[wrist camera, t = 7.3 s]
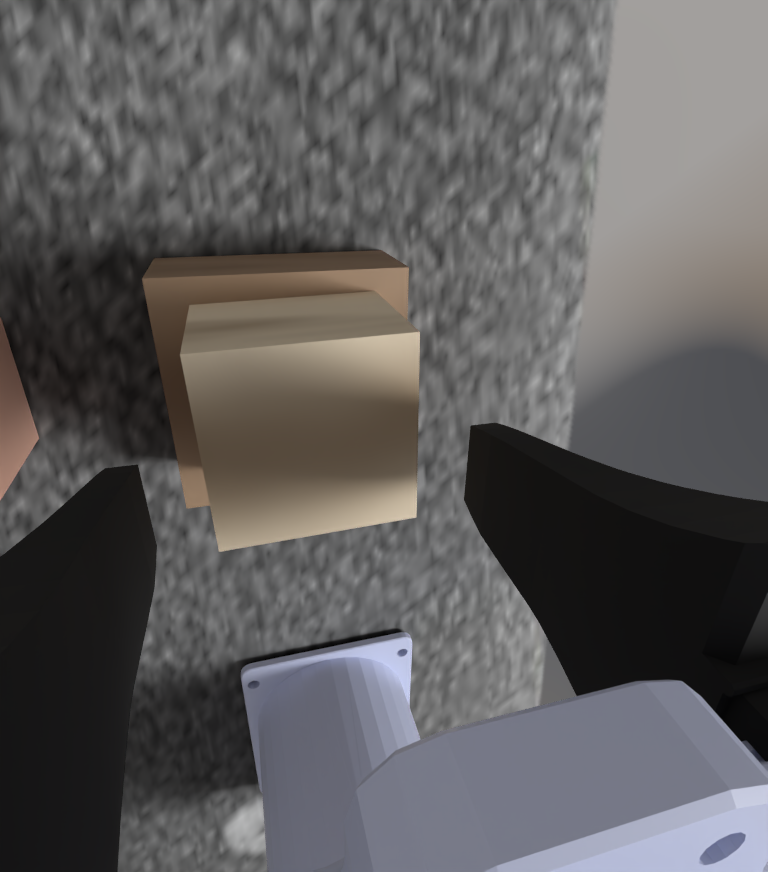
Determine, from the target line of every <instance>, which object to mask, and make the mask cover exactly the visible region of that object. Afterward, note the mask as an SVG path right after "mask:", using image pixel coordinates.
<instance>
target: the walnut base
mask: <svg viewBox="0 0 768 872" xmlns="http://www.w3.org/2000/svg"><path fill="white" fill-rule="evenodd" d="M408 277H409V267H408V266H406V265H404V264H403V263H401V262H400V261H398V260H396V259H395V258H393V257H391V256H390V255H388V254H387V253H385V252H383V251H382V250H375V251H346V252H317V253H288V254H259V255H230V256H201V257H173V258H154V259H153V261H152V263H151V264H150V266H149V268H148V269H147V271H146V273H145V274H144V276H143V278H142V282H143V287H144V292H145V297H146V302H147V307H148V312H149V317H150V323H151V328H152V333H153V338H154V343H155V348H156V353H157V358H158V364H159V369H160V374H161V379H162V384H163V389H164V394H165V399H166V404H167V410H168V415H169V420H170V425H171V430H172V435H173V440H174V445H175V451H176V456H177V461H178V466H179V471H180V476H181V481H182V486H183V492H184V497H185V502H186V507H187V508H194V507H202V506H209V505H210V503H209V498H208V493H207V488H206V483H205V478H204V473H203V468H202V463H201V458H200V453H199V448H198V443H197V438H196V433H195V428H194V423H193V418H192V413H191V408H190V402H189V397H188V392H187V387H186V382H185V377H184V372H183V367H182V362H181V357H180V352H181V346H182V341H183V336H184V331H185V326H186V320H187V315H188V310H189V305H197V304H210V303H223V302H236V301H249V300H263V299H276V298H289V297H302V296H315V295H329V294H342V293H355V292H368V291H376V292H377V293H378V294H379V295H380V296H381V297H382V298H383V299H384V300H385V301H387V302H388V303H389V304H390V305H391V306H392V307H393V308H394V309H395V310H396V311H398V312H399V313H400V314H401V315H402V316H403V317H404V318H405V319H406V320H407V312H408Z"/></svg>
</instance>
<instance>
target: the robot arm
mask: <svg viewBox="0 0 768 872" xmlns="http://www.w3.org/2000/svg"><path fill="white" fill-rule="evenodd" d="M464 501H465V503H466V505H467V507H468V509H469V512H470V514H471V516H472V518H473V520H474V522H475V524H476V526H477V528H478V530H479V532H480V534H481V536H482V537H483V539H484V540H485V542H486V543H487V545H488V546H489V548H490V549H491V551H492V552H493V554H494V555H495V557H496V558H497V560H498V561H499V563H500V564H501V566H502V567H503V569H504V570H505V572H506V573H507V575H508V576H509V577H510V579H511V580H512V582H513V583H514V585H515V586H516V588H517V589H518V591H519V592H520V594H521V595H522V597H523V598H524V599H525V601H526V602H527V604H528V605H529V607H530V609H531V610H532V612H533V613H534V615H535V617H536V618H537V620H538V621H539V623H540V625H541V627H542V629H543V631H544V633H545V634H546V636H547V638H548V640H549V642H550V644H551V646H552V648H553V650H554V651H555V653H556V655H557V657H558V659H559V661H560V663H561V665H562V667H563V669H564V671H565V673H566V675H567V677H568V679H569V681H570V683H571V685H572V687H573V689H574V691H575V693H576V695H577V696H576V697H572V698H568V699H565V700H561V701H556V702H552V703H548V704H545V705H541V706H537V707H533V708H529V709H525V710H521V711H517V712H513V713H509V714H505V715H501V716H497V717H494V718H490V719H486V720H482V721H478V722H474V723H470V724H466V725H462V726H458V727H454V728H450V729H446V730H443V731H440V732H437V733H435V734H433V735H430V736H428V737H426V738H423V739H421V740H420V737H419V734H418V731H417V728H416V725H415V722H414V719H413V716H412V713H411V710H410V707H409V702H410V680H411V658H412V640H411V637H410V635H409V634H408V633H406V632H400V633H395V634H390V635H385V636H380V637H376V638H371V639H366V640H361V641H356V642H351V643H346V644H342V645H337V646H332V647H327V648H322V649H317V650H312V651H308V652H303V653H298V654H293V655H288V656H283V657H279V658H274V659H269V660H264V661H259V662H254V663H250V664H247V665H246V666H244V667H243V668H242V670H241V681H242V687H243V693H244V699H245V705H246V711H247V717H248V723H249V729H250V735H251V741H252V747H253V753H254V758H255V764H256V770H257V776H258V782H259V788H260V791H261V792H262V794H263V809H264V824H265V839H266V854H267V869H268V872H768V502H764V501H757V500H750V499H742V498H737V497H730V496H725V495H718V494H713V493H708V492H704V491H699V490H694V489H689V488H684V487H680V486H675V485H671V484H667V483H663V482H659V481H656V480H652V479H649V478H645V477H642V476H638V475H635V474H631V473H628V472H625V471H622V470H618V469H616V468H612V467H610V466H607V465H604V464H601V463H599V462H596V461H593V460H590V459H588V458H585V457H583V456H580V455H577V454H575V453H572V452H570V451H567V450H565V449H562V448H560V447H558V446H555V445H553V444H550V443H548V442H546V441H543V440H541V439H538V438H536V437H533V436H531V435H529V434H526V433H524V432H521V431H519V430H516V429H513V428H511V427H508V426H505V425H502V424H498V423H489V424H481V425H472V426H471V429H470V440H469V451H468V462H467V473H466V484H465V495H464ZM156 551H157V545H156V541H155V536H154V532H153V528H152V524H151V519H150V515H149V511H148V507H147V502H146V498H145V494H144V489H143V485H142V481H141V477H140V472H139V468H138V465H131V466H122V467H114V468H105V469H104V470H102V471H101V472H100V473H99V474H97V475H96V476H95V477H94V478H93V479H92V480H90V481H89V482H88V483H87V484H86V485H85V486H84V487H83V488H82V489H81V490H79V491H78V492H77V493H76V494H75V495H74V496H73V497H72V498H71V499H70V500H68V501H67V502H66V503H65V504H64V505H63V506H62V507H61V508H59V509H58V510H57V511H56V512H55V513H54V514H53V515H52V516H50V517H49V518H48V519H47V520H46V521H45V522H44V523H42V524H41V525H40V526H39V527H37V528H36V529H35V530H34V531H32V532H31V533H30V534H29V535H27V536H26V537H25V538H24V539H22V540H21V541H20V542H19V543H17V544H16V545H15V546H14V547H12V548H11V549H10V550H9V551H7V552H6V553H5V554H4V555H2V556H1V557H0V872H117V869H118V853H119V836H120V820H121V807H122V795H123V782H124V769H125V758H126V747H127V737H128V726H129V716H130V708H131V701H132V695H133V689H134V684H135V679H136V674H137V669H138V665H139V660H140V655H141V650H142V646H143V641H144V636H145V632H146V627H147V622H148V617H149V612H150V607H151V602H152V597H153V592H154V585H155V571H156ZM401 649H402V650H401ZM251 681H253V682H251Z"/></svg>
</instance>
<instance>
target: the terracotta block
mask: <svg viewBox="0 0 768 872" xmlns="http://www.w3.org/2000/svg"><path fill="white" fill-rule="evenodd" d="M38 439H39V437H38V434H37V430H36V427H35V424H34V421H33V418H32V415H31V411H30V408H29V405H28V402H27V399H26V396H25V392H24V389H23V386H22V383H21V380H20V376H19V373H18V370H17V367H16V364H15V361H14V357H13V354H12V351H11V348H10V345H9V342H8V338H7V335H6V332H5V329H4V326H3V323H2V319H1V317H0V500H1V499H2V497H3V495H4V494H5V492H6V491H7V489H8V487H9V486H10V484H11V483H12V481H13V479H14V478H15V476H16V475H17V473H18V471H19V470H20V468H21V466H22V465H23V463H24V462H25V460H26V458H27V457H28V455H29V454H30V452H31V450H32V449H33V447H34V446H35V444H36V442H37V441H38Z"/></svg>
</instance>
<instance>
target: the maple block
mask: <svg viewBox="0 0 768 872" xmlns="http://www.w3.org/2000/svg"><path fill="white" fill-rule="evenodd" d="M419 351H420V331H418V330H417V329H416V328H415V327H414V326H413V325H412V324H411V323H410V322H409V321H407V320H406V319H405V318H404V317H403V316H402V315H401V314H400V313H399V312H398V311H396V310H395V309H394V308H393V307H392V306H391V305H390V304H389V303H388V302H387V301H385V300H384V299H383V298H382V297H381V296H380V295H379V294H378V293H377V292H376V291H368V292H355V293H342V294H329V295H315V296H302V297H289V298H276V299H263V300H249V301H236V302H223V303H210V304H197V305H189V310H188V315H187V320H186V326H185V331H184V336H183V341H182V346H181V352H180V357H181V362H182V367H183V372H184V377H185V382H186V387H187V392H188V397H189V402H190V408H191V413H192V418H193V423H194V428H195V433H196V438H197V443H198V448H199V453H200V458H201V463H202V468H203V473H204V478H205V483H206V488H207V493H208V498H209V503H210V508H211V513H212V518H213V523H214V528H215V533H216V538H217V543H218V548H219V552H221V551H227V550H232V549H238V548H244V547H250V546H255V545H261V544H267V543H273V542H278V541H284V540H290V539H295V538H301V537H307V536H313V535H318V534H324V533H330V532H335V531H341V530H347V529H353V528H358V527H364V526H370V525H376V524H381V523H387V522H393V521H398V520H404V519H410V518H416V512H417V458H418V405H419Z"/></svg>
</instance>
